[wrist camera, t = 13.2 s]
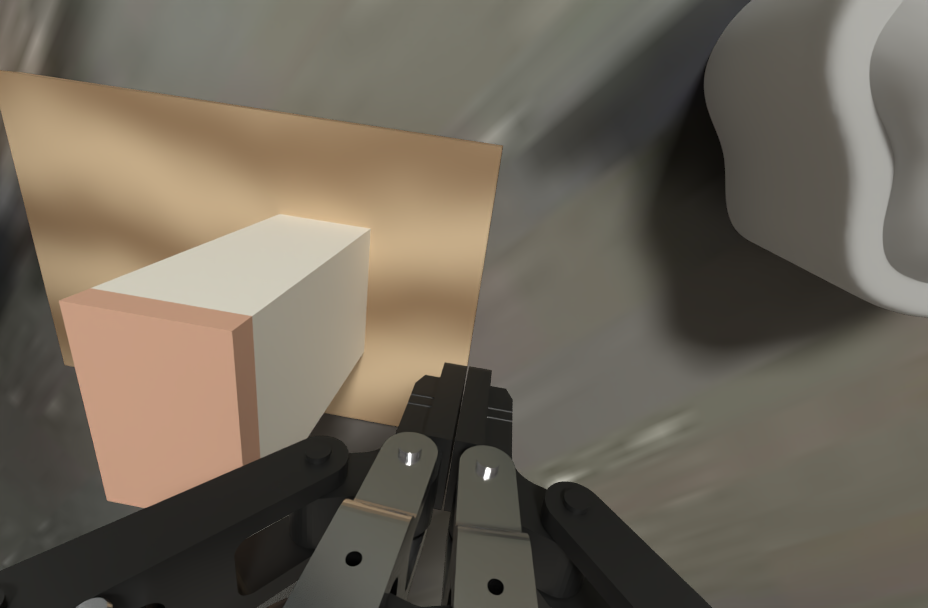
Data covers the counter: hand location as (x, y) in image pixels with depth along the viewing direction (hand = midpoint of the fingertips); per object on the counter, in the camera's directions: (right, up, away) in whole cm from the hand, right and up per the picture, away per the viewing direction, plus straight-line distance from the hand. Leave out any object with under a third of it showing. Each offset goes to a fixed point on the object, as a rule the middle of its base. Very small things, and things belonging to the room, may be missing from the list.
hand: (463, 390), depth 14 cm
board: (-10, +5, +7) cm, 13 cm away
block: (-6, +3, +6) cm, 9 cm away
